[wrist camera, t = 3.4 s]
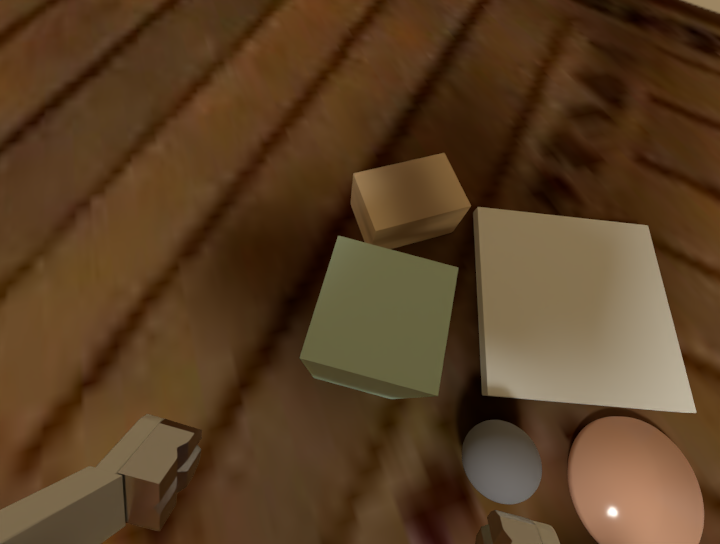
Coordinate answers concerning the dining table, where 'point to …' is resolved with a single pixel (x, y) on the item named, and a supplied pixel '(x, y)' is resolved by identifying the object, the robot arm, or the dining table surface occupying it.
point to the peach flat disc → (633, 485)
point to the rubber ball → (501, 461)
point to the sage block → (381, 321)
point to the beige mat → (574, 313)
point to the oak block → (408, 201)
